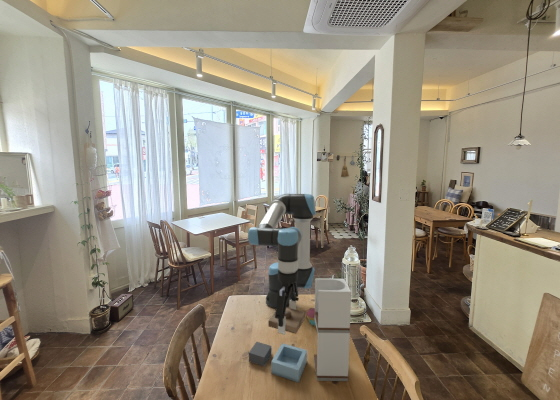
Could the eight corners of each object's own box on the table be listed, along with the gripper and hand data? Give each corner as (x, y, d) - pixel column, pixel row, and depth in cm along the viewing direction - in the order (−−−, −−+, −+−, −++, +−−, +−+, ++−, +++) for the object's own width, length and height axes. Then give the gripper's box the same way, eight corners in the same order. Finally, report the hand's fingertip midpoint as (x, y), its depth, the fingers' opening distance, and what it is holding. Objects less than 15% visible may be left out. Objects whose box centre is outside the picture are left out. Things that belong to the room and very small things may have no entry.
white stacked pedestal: (341, 359, 102) (344, 278, 98) (347, 381, 91) (351, 291, 87) (313, 358, 102) (315, 278, 98) (317, 380, 92) (318, 291, 88)
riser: (256, 350, 107) (256, 341, 107) (271, 354, 104) (271, 345, 104) (248, 361, 101) (248, 352, 100) (264, 366, 98) (264, 357, 98)
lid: (280, 311, 103) (280, 302, 102) (305, 317, 98) (305, 308, 98) (268, 326, 93) (268, 317, 92) (296, 334, 88) (296, 324, 88)
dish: (281, 353, 105) (281, 343, 104) (306, 361, 101) (307, 350, 100) (271, 373, 95) (271, 361, 94) (298, 382, 91) (298, 370, 90)
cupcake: (309, 316, 132) (309, 295, 131) (324, 320, 128) (325, 298, 127) (303, 325, 124) (304, 302, 123) (320, 330, 121) (320, 306, 119)
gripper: (289, 258, 105) (289, 307, 108) (265, 280, 84) (265, 340, 86) (306, 261, 103) (305, 310, 105) (285, 284, 81) (285, 346, 84)
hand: (287, 324), depth 96 cm, fingers closed on lid, 11 cm apart
